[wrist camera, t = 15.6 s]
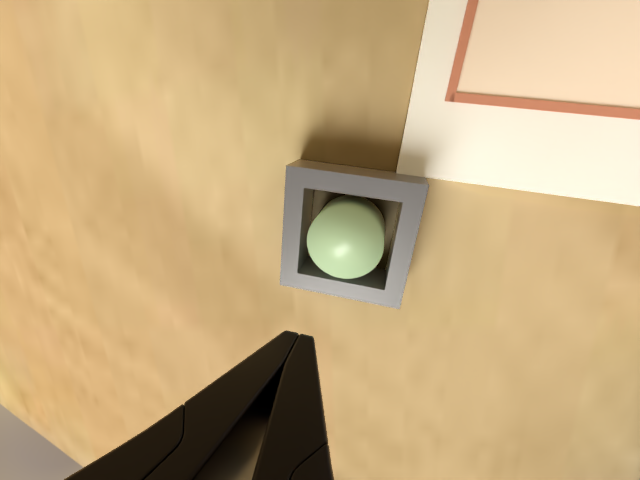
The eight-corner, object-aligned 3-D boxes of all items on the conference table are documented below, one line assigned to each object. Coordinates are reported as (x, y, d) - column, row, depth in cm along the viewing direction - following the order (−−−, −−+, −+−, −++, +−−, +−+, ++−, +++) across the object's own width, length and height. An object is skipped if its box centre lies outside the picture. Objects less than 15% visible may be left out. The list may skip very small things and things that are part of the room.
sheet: (969, -184, 10) (1004, -202, 9) (717, 215, 15) (730, 219, 14) (461, -166, 12) (464, -179, 11) (395, 172, 17) (396, 174, 16)
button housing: (424, 175, 17) (428, 185, 14) (398, 286, 19) (399, 309, 17) (299, 159, 18) (286, 165, 16) (292, 266, 21) (279, 284, 18)
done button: (390, 200, 17) (390, 213, 15) (378, 264, 19) (376, 285, 16) (320, 190, 18) (310, 201, 15) (314, 252, 19) (304, 271, 17)
